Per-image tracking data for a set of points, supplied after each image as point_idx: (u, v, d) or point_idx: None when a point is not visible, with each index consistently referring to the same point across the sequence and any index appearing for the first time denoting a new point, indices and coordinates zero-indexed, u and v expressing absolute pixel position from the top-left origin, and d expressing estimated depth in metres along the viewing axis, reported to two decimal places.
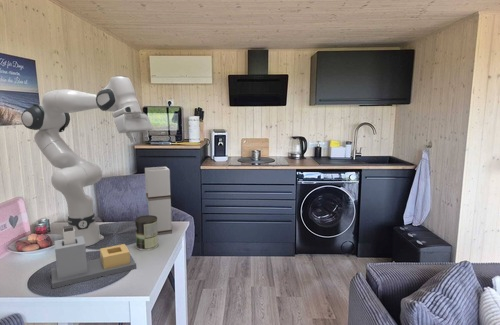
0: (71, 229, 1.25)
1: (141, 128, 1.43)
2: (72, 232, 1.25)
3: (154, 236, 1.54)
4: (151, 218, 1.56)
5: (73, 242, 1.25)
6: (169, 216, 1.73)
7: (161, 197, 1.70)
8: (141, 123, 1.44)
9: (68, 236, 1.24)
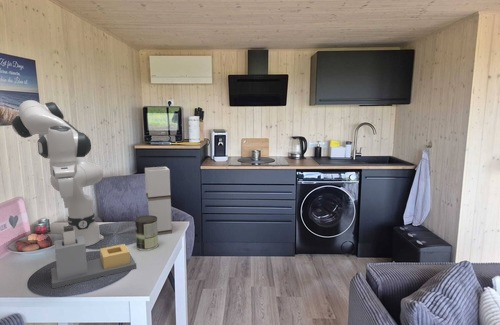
0: (71, 229, 1.25)
1: None
2: (72, 232, 1.25)
3: (154, 236, 1.54)
4: (151, 218, 1.56)
5: (73, 242, 1.25)
6: (169, 216, 1.73)
7: (161, 197, 1.70)
8: None
9: (68, 236, 1.24)
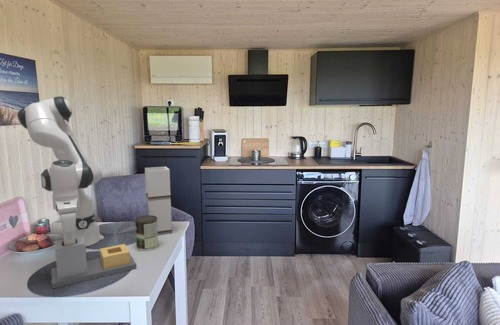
0: None
1: None
2: None
3: (154, 236, 1.54)
4: (151, 218, 1.56)
5: (73, 242, 1.25)
6: (169, 216, 1.73)
7: (161, 197, 1.70)
8: None
9: None
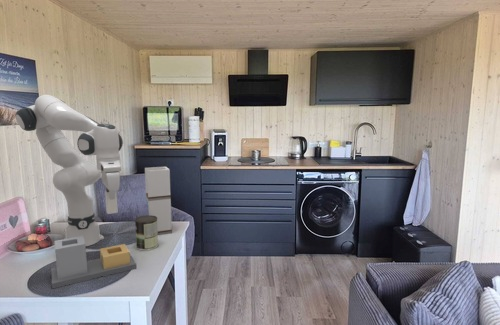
0: None
1: None
2: None
3: (154, 236, 1.54)
4: (151, 218, 1.56)
5: (115, 202, 1.32)
6: (169, 216, 1.73)
7: (161, 197, 1.70)
8: None
9: None
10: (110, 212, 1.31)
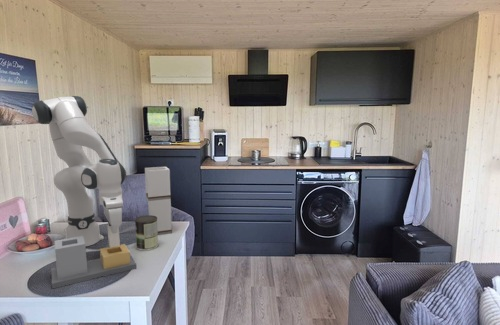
0: None
1: None
2: None
3: (154, 236, 1.54)
4: (151, 218, 1.56)
5: (117, 235, 1.34)
6: (169, 216, 1.73)
7: (161, 197, 1.70)
8: None
9: None
10: (112, 245, 1.33)
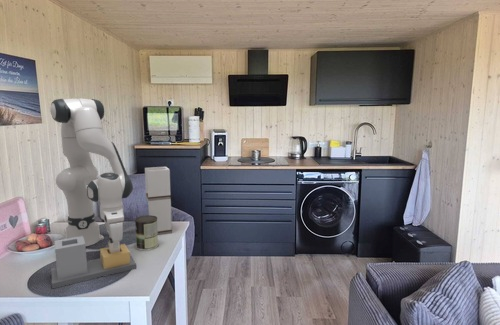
0: None
1: None
2: None
3: (154, 236, 1.54)
4: (151, 218, 1.56)
5: None
6: (169, 216, 1.73)
7: (161, 197, 1.70)
8: None
9: None
10: None
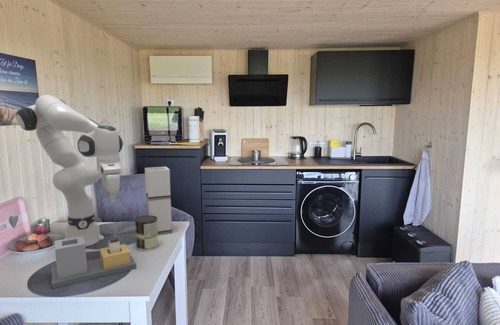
0: (116, 240, 1.34)
1: None
2: (117, 243, 1.34)
3: (154, 236, 1.54)
4: (151, 218, 1.56)
5: None
6: (169, 216, 1.73)
7: (161, 197, 1.70)
8: None
9: (114, 247, 1.34)
10: None
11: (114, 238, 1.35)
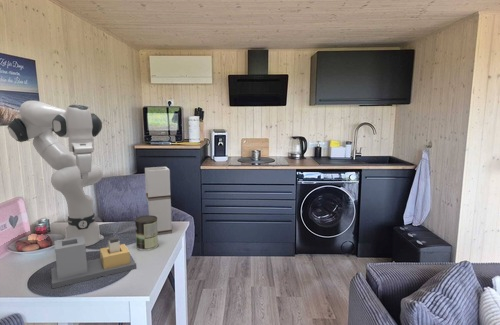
0: (116, 240, 1.34)
1: None
2: (117, 243, 1.34)
3: (154, 236, 1.54)
4: (151, 218, 1.56)
5: None
6: (169, 216, 1.73)
7: (161, 197, 1.70)
8: None
9: (114, 247, 1.34)
10: None
11: (114, 238, 1.35)
